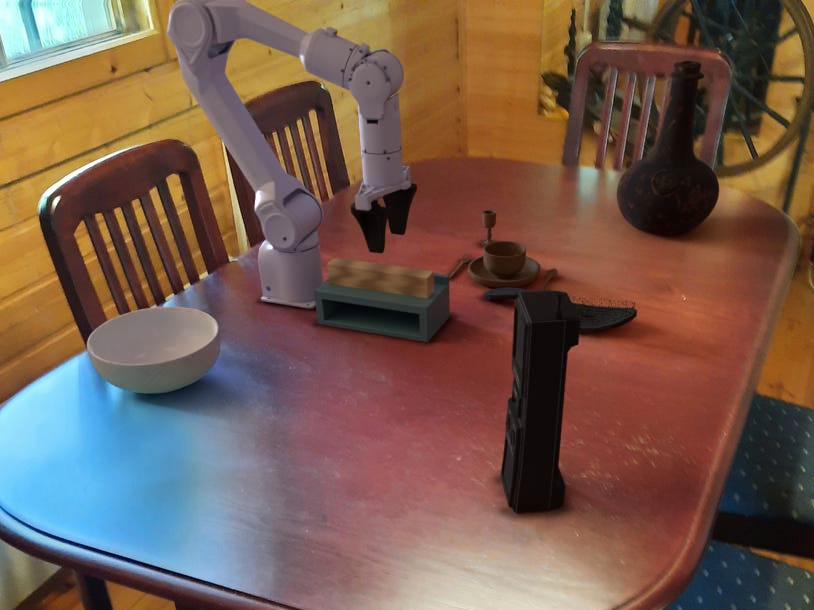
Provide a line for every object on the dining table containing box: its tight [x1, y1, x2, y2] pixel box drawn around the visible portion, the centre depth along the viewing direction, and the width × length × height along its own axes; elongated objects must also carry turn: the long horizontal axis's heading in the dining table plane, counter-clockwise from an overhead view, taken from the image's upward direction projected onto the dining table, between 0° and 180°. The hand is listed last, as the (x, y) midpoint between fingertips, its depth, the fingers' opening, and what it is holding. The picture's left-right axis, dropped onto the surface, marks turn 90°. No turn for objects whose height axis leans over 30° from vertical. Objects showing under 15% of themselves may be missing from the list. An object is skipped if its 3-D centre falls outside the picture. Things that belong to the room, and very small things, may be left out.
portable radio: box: [500, 289, 580, 514], centre depth 88 cm, size 8×6×25 cm
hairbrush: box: [483, 287, 638, 334], centre depth 129 cm, size 8×4×25 cm
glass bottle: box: [616, 60, 720, 236], centre depth 150 cm, size 18×18×28 cm
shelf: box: [314, 272, 451, 343], centre depth 128 cm, size 18×9×7 cm, turn 68°
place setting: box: [449, 209, 559, 291], centre depth 143 cm, size 18×20×6 cm
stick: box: [326, 257, 435, 299], centre depth 125 cm, size 16×3×3 cm, turn 68°
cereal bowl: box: [86, 306, 222, 394], centre depth 115 cm, size 17×17×7 cm
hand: (387, 242), depth 128 cm, fingers open, 7 cm apart
